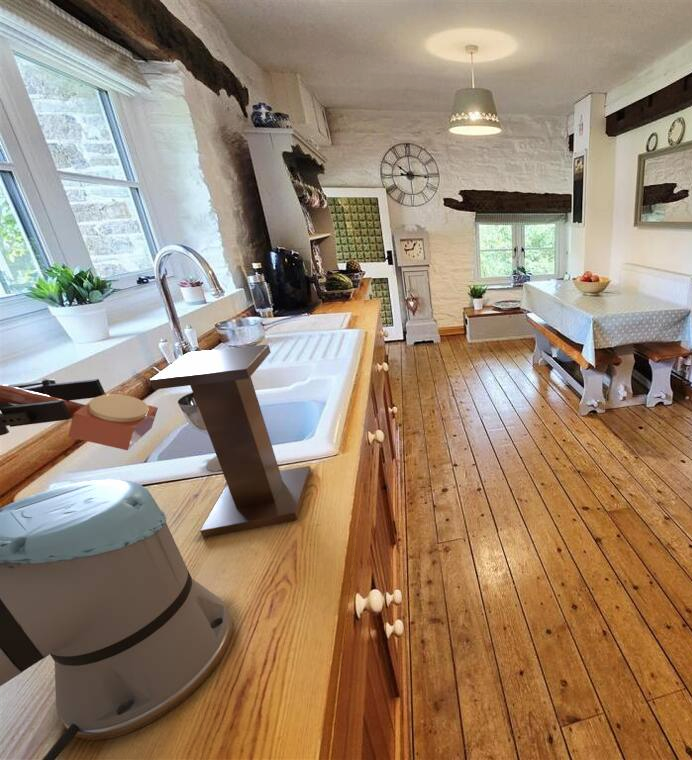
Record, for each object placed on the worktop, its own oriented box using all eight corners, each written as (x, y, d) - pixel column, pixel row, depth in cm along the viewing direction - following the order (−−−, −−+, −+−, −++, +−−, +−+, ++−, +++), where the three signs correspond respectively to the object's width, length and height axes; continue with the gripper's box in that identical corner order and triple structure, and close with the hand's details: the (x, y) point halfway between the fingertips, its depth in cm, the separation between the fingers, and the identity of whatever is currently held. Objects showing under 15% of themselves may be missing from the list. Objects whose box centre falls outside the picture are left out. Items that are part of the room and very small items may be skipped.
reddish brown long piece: (-33, 413, 54) (-28, 382, 53) (11, 392, 60) (16, 364, 59) (127, 450, 61) (135, 423, 60) (151, 428, 67) (159, 403, 66)
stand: (202, 537, 65) (136, 383, 55) (232, 485, 78) (183, 351, 67) (297, 519, 68) (251, 370, 58) (311, 471, 81) (276, 341, 70)
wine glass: (256, 450, 89) (235, 387, 83) (230, 472, 82) (205, 405, 76) (222, 449, 90) (200, 387, 84) (193, 471, 82) (166, 405, 76)
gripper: (-36, 413, 65) (132, 393, 70) (-196, 490, 47) (45, 456, 52) (-64, 369, 62) (114, 352, 67) (-246, 434, 44) (15, 404, 49)
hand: (83, 398), depth 60 cm, fingers closed on reddish brown long piece, 7 cm apart
